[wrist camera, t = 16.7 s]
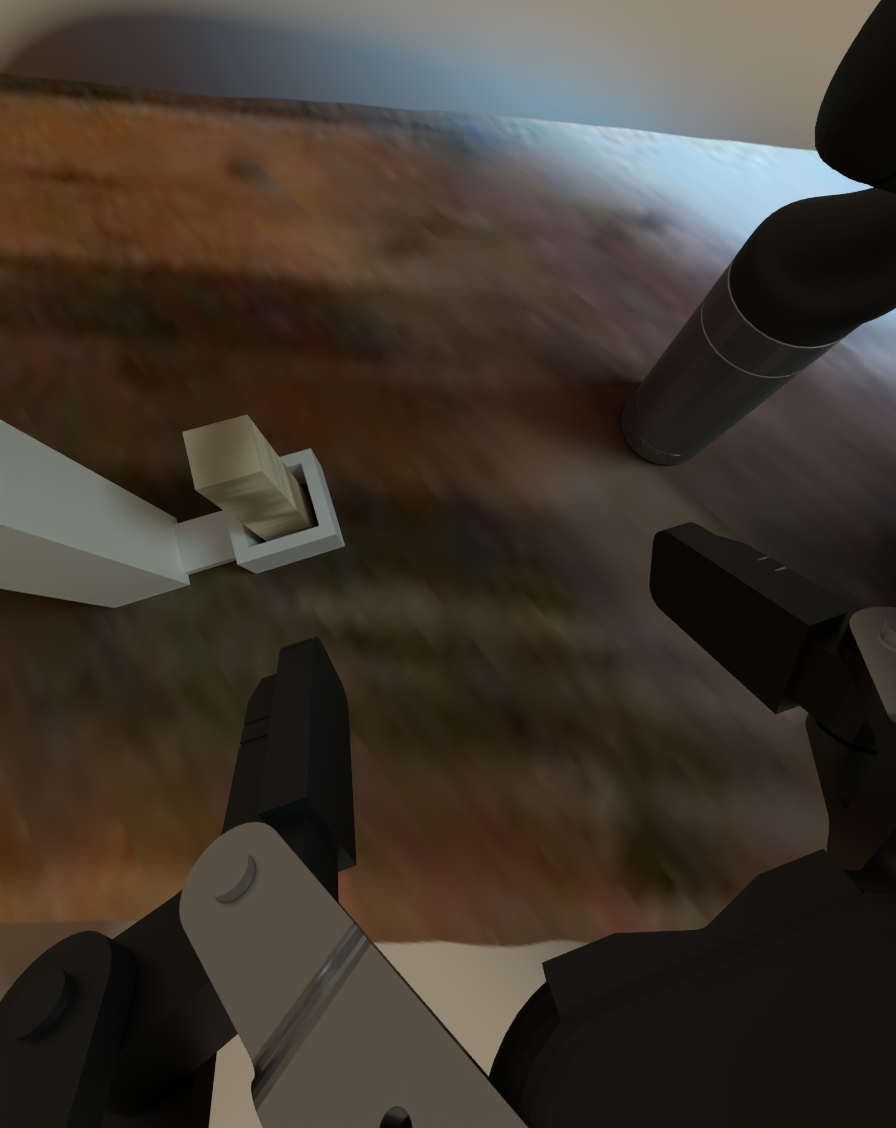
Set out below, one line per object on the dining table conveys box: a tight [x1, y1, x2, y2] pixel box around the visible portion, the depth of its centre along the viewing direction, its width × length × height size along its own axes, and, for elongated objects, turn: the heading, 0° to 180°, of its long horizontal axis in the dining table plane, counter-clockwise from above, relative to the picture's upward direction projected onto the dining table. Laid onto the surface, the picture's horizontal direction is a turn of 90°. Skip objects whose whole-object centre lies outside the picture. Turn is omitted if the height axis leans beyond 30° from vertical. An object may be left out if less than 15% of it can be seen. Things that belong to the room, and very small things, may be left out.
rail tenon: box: [183, 415, 316, 542], centre depth 35 cm, size 4×4×14 cm
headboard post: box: [0, 420, 345, 608], centre depth 28 cm, size 22×9×28 cm, turn 109°
